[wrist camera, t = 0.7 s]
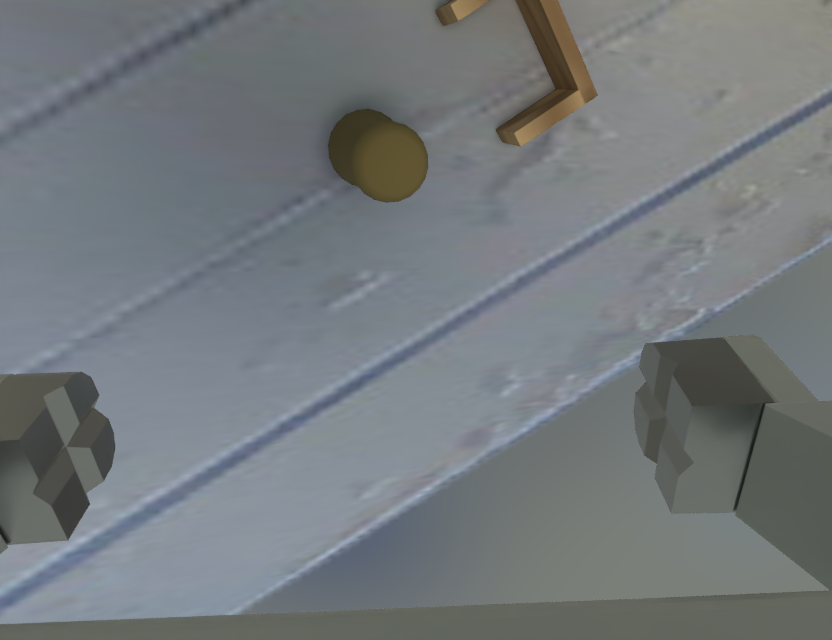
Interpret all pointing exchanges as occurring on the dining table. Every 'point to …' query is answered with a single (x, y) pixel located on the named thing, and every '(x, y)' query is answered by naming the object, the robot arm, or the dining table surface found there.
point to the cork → (378, 155)
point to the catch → (559, 60)
